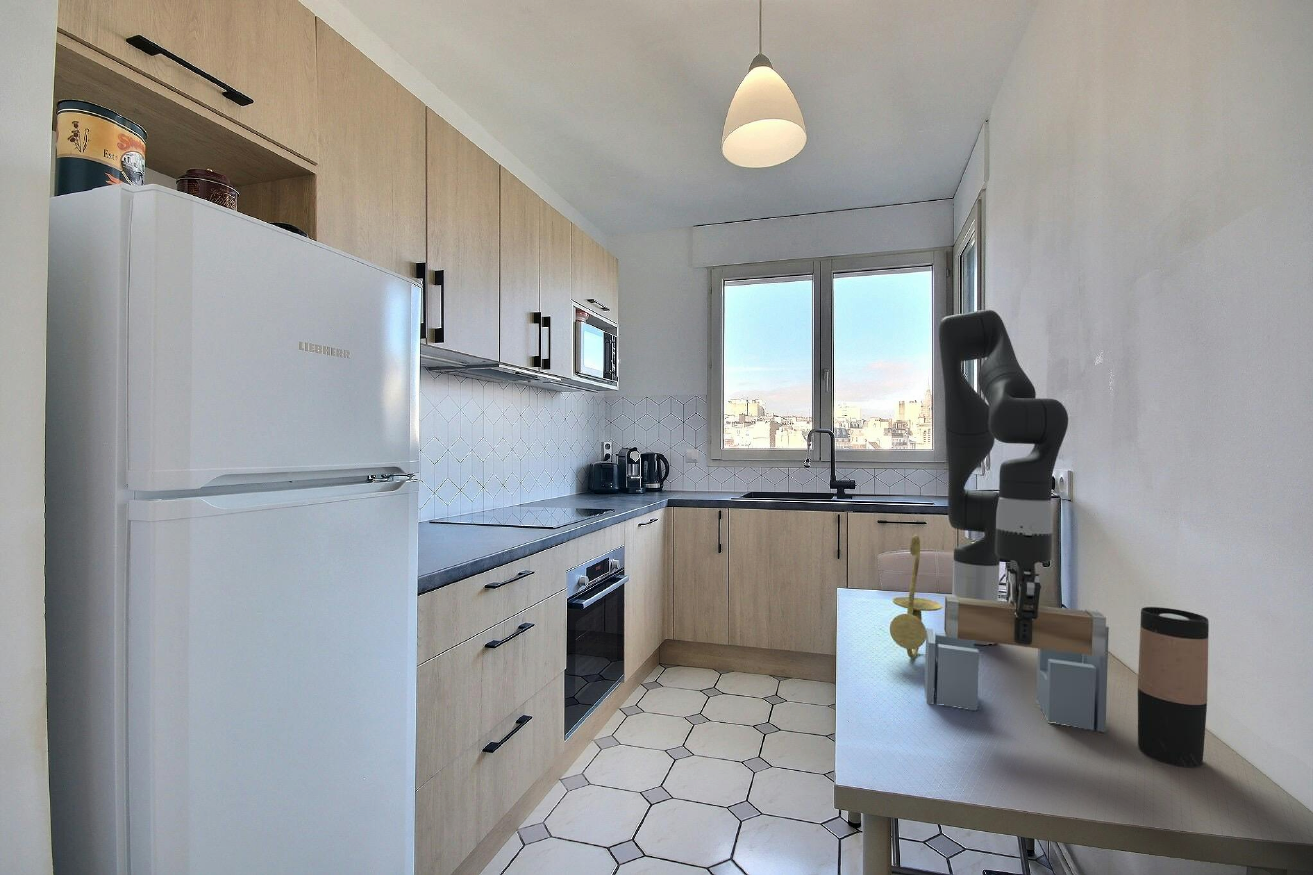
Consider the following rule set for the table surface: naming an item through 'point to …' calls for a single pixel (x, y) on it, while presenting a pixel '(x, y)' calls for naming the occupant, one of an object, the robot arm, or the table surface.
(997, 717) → the table surface
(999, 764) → the table surface
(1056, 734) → the table surface
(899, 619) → the wall sconce
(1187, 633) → the travel mug
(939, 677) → the pair of grey brackets
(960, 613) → the brown wooden bar
